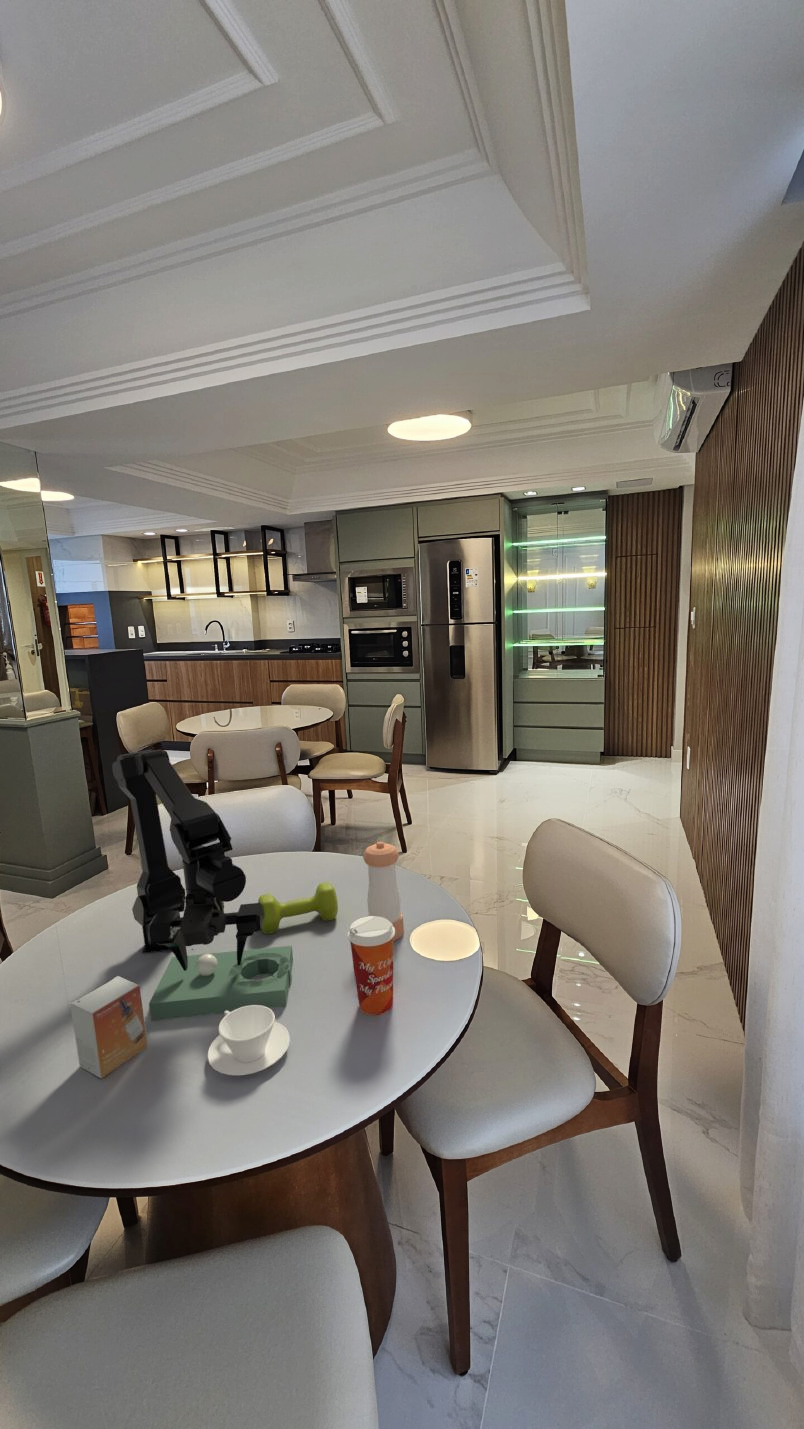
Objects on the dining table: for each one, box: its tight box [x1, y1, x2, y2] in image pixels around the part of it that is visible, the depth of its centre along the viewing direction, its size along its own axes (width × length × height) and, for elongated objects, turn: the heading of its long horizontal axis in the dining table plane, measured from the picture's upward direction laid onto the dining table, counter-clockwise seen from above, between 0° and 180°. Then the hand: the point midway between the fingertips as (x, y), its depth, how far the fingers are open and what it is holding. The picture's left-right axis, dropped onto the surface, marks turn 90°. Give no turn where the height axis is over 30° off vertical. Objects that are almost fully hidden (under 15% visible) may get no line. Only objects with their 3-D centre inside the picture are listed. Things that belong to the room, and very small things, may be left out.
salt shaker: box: [362, 841, 405, 941], centre depth 125 cm, size 7×7×19 cm
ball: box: [196, 953, 218, 976], centre depth 110 cm, size 4×4×4 cm
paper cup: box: [347, 916, 395, 1016], centre depth 103 cm, size 8×8×14 cm
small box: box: [69, 975, 148, 1079], centre depth 94 cm, size 8×6×10 cm
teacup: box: [207, 1005, 291, 1076], centre depth 94 cm, size 12×12×5 cm
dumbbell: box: [257, 881, 339, 935], centre depth 133 cm, size 16×8×7 cm, turn 109°
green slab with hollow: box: [148, 945, 294, 1021], centre depth 111 cm, size 22×14×3 cm, turn 95°
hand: (212, 967), depth 110 cm, fingers open, 9 cm apart
